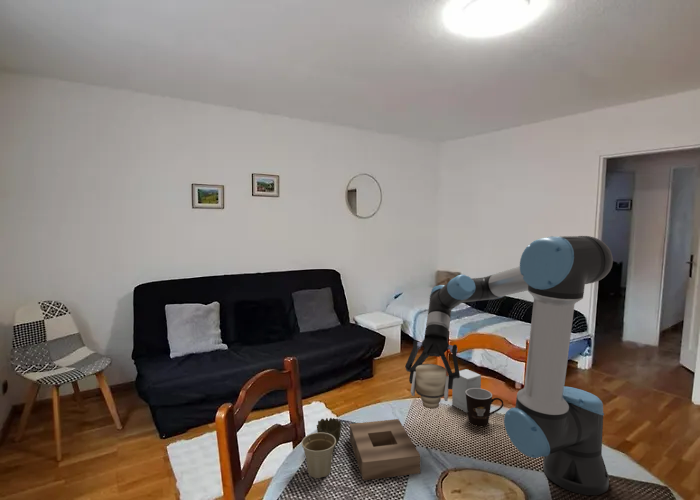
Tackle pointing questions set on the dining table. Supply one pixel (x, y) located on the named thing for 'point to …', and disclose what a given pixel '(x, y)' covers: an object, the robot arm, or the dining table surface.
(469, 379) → the supplement box
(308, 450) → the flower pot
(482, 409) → the coffee mug
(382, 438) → the board
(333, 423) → the dark green spiky plant
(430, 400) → the peg
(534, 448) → the robot arm
